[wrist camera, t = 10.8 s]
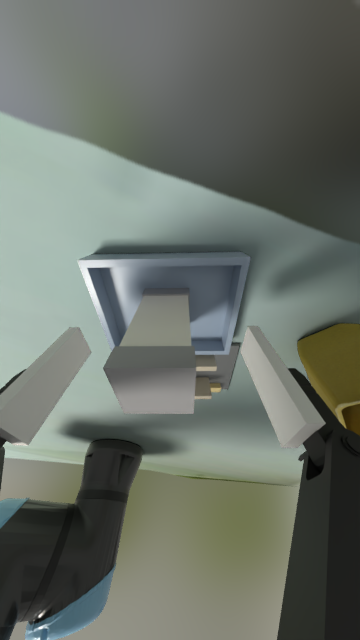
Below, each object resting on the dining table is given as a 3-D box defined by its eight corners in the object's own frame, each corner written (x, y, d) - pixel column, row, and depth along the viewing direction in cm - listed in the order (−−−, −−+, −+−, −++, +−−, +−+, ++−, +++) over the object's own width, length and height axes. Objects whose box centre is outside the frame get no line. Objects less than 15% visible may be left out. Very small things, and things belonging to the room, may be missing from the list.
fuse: (150, 324, 18) (124, 413, 10) (145, 288, 16) (103, 368, 7) (188, 323, 18) (193, 413, 10) (188, 287, 16) (196, 368, 7)
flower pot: (359, 301, 17) (499, 368, 9) (362, 348, 21) (464, 421, 13) (277, 336, 20) (335, 408, 12) (294, 371, 24) (345, 442, 16)
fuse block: (157, 386, 26) (154, 407, 23) (150, 343, 21) (144, 364, 18) (227, 386, 26) (232, 407, 23) (238, 343, 20) (247, 364, 18)
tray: (120, 341, 21) (113, 355, 18) (92, 254, 14) (77, 260, 12) (224, 340, 20) (228, 354, 18) (240, 251, 14) (250, 257, 12)
